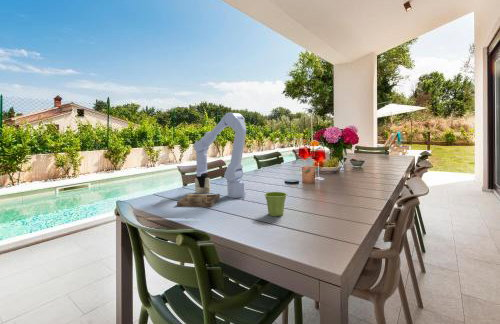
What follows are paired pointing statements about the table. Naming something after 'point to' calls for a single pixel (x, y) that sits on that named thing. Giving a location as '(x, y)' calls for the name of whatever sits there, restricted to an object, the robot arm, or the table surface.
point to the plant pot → (275, 203)
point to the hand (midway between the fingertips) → (202, 187)
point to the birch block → (206, 186)
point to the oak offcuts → (197, 198)
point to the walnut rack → (210, 202)
